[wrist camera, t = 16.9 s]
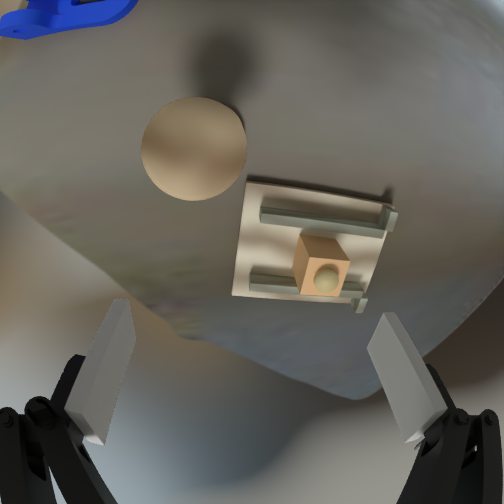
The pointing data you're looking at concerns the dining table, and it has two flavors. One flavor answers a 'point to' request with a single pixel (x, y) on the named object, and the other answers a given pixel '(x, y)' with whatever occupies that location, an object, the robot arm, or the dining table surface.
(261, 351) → the dining table surface
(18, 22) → the bracket
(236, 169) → the bobbin
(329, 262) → the tab
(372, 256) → the board
